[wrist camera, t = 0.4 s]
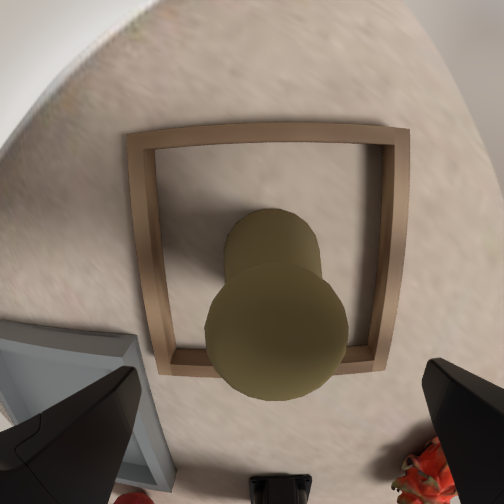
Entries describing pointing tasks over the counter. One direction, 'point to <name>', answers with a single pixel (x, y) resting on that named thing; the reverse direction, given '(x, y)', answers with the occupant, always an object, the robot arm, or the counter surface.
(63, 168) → the counter surface
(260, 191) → the counter surface
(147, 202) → the frame
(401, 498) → the dragon fruit
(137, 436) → the gray square tray
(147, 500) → the pomegranate
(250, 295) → the olive shaker
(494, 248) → the counter surface
